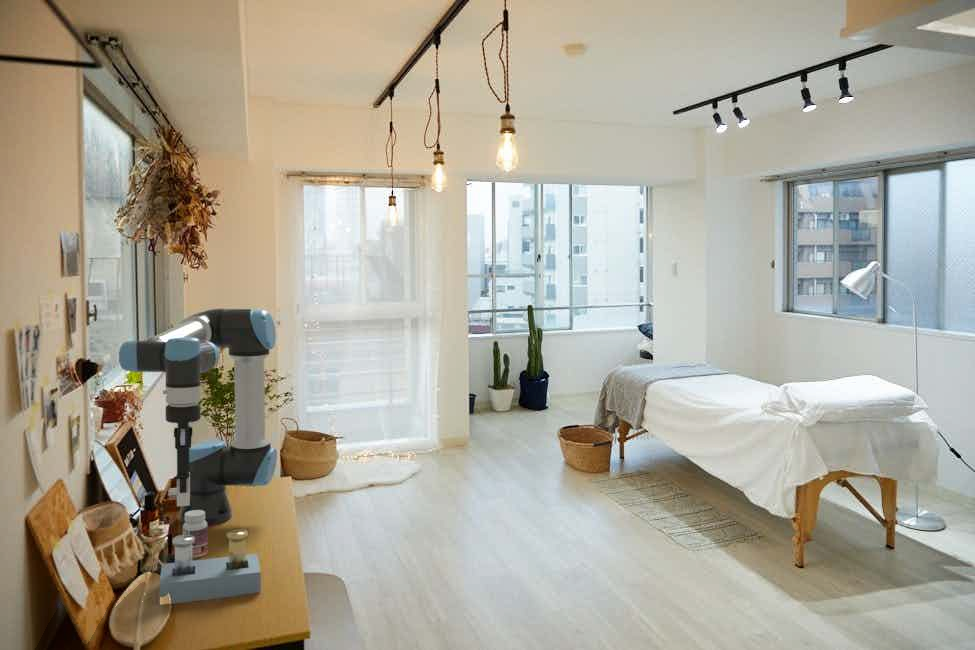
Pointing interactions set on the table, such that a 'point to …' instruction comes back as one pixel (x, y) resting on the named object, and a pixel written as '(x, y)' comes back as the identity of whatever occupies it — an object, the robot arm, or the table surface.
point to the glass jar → (237, 548)
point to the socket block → (210, 580)
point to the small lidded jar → (183, 554)
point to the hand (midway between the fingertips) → (183, 502)
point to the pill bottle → (196, 531)
